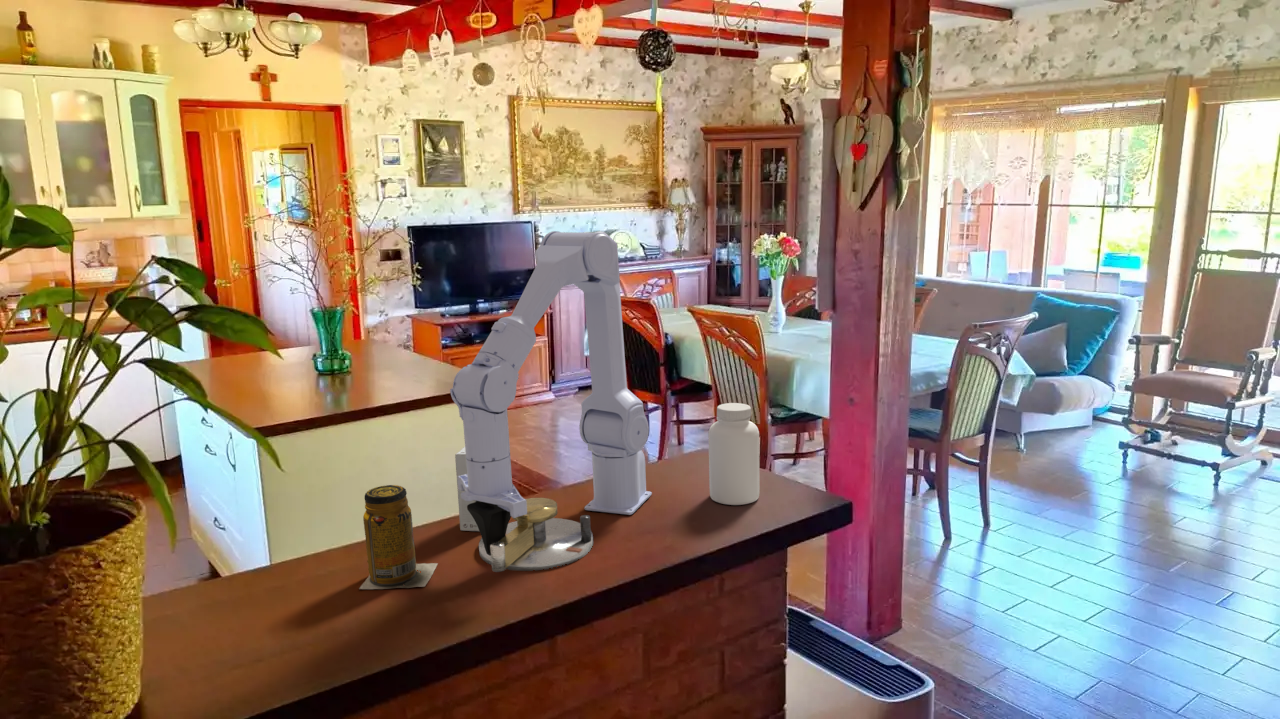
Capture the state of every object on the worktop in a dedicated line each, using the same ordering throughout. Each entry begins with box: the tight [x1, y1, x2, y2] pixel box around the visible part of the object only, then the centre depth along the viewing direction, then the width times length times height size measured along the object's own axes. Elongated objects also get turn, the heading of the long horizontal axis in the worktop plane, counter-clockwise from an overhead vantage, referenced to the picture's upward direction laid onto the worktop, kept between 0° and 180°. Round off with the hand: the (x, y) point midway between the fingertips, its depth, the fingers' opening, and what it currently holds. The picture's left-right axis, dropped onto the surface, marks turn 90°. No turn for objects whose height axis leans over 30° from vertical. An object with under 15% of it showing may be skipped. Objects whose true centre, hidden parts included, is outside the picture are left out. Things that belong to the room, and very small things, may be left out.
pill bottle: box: [708, 402, 760, 506], centre depth 138 cm, size 8×8×15 cm
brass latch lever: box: [490, 497, 559, 573], centre depth 119 cm, size 15×6×5 cm, turn 160°
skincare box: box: [454, 446, 480, 532], centre depth 131 cm, size 6×4×12 cm
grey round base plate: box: [478, 514, 594, 572], centre depth 123 cm, size 16×16×4 cm
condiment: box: [358, 484, 439, 590], centre depth 114 cm, size 7×8×12 cm
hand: (495, 552), depth 117 cm, fingers closed
